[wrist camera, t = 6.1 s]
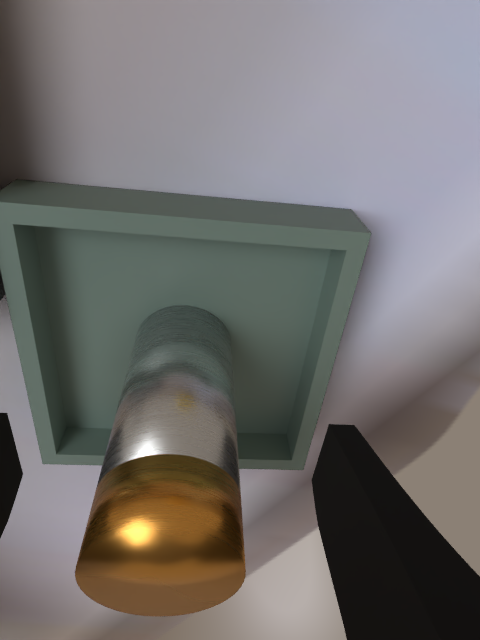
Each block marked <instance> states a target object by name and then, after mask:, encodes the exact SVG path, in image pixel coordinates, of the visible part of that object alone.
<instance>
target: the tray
mask: <svg viewBox="0 0 480 640" xmlns="http://www.w3.org/2000/svg"><path fill="white" fill-rule="evenodd" d="M370 236H371V232H370V231H369V230H368V229H367V228H366V226H365V225H364V224H363V223H362V222H361V220H360V219H359V218H358V217H357V216H356V215H355V213H354V212H353V211H352V210H351V209H341V208H330V207H319V206H308V205H296V204H285V203H274V202H263V201H252V200H241V199H230V198H218V197H207V196H196V195H185V194H174V193H163V192H152V191H140V190H129V189H118V188H107V187H96V186H85V185H73V184H62V183H51V182H40V181H29V180H18V179H16V180H15V181H13V182H12V183H10V184H9V185H7V186H6V187H5V188H3V189H2V190H0V270H1V275H2V279H3V284H4V289H5V293H6V298H7V302H8V307H9V312H10V316H11V321H12V325H13V330H14V334H15V339H16V344H17V348H18V353H19V357H20V362H21V367H22V371H23V376H24V380H25V385H26V390H27V394H28V399H29V403H30V408H31V412H32V417H33V422H34V426H35V431H36V435H37V440H38V445H39V449H40V454H41V458H42V463H43V464H65V465H103V461H104V458H105V454H106V450H107V446H108V442H109V438H110V434H111V431H112V427H113V423H114V419H115V415H116V411H117V408H118V404H119V400H120V396H121V392H122V388H123V384H124V381H125V377H126V373H127V369H128V365H129V361H130V357H131V354H132V350H133V346H134V342H135V338H136V334H137V331H138V329H139V327H140V325H141V324H142V322H143V321H144V320H145V319H146V318H147V317H148V316H149V315H151V314H152V313H154V312H155V311H157V310H159V309H162V308H165V307H168V306H174V305H190V306H195V307H199V308H202V309H205V310H207V311H209V312H211V313H212V314H214V315H215V316H216V317H218V318H219V319H220V320H221V321H222V322H223V324H224V325H225V327H226V328H227V330H228V332H229V335H230V339H231V351H232V367H233V382H234V398H235V414H236V429H237V445H238V460H239V469H281V470H303V469H304V465H305V462H306V458H307V455H308V451H309V448H310V444H311V441H312V437H313V434H314V431H315V427H316V424H317V420H318V417H319V413H320V410H321V406H322V403H323V399H324V396H325V392H326V389H327V385H328V382H329V378H330V375H331V371H332V368H333V364H334V361H335V358H336V354H337V351H338V347H339V344H340V340H341V337H342V333H343V330H344V326H345V323H346V319H347V316H348V312H349V309H350V305H351V302H352V298H353V295H354V291H355V288H356V285H357V281H358V278H359V274H360V271H361V267H362V264H363V260H364V257H365V253H366V250H367V246H368V243H369V239H370Z"/></svg>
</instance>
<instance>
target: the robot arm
mask: <svg viewBox="0 0 480 640" xmlns="http://www.w3.org/2000/svg"><path fill="white" fill-rule="evenodd" d="M22 475H23V472H22V469H21V465H20V461H19V457H18V453H17V449H16V446H15V442H14V438H13V434H12V430H11V426H10V423H9V419H8V415H7V413H0V538H1V535H2V533H3V531H4V529H5V526H6V524H7V522H8V519H9V516H10V513H11V510H12V507H13V504H14V501H15V498H16V495H17V492H18V488H19V485H20V482H21V479H22ZM312 486H313V493H314V501H315V508H316V515H317V521H318V526H319V530H320V534H321V538H322V542H323V546H324V550H325V554H326V558H327V562H328V566H329V570H330V573H331V578H332V582H333V585H334V589H335V593H336V597H337V601H338V605H339V609H340V613H341V616H342V620H343V624H344V628H345V633H346V637H347V640H480V576H479V575H477V573H476V572H475V571H474V570H473V569H472V568H471V567H470V566H469V565H468V564H467V563H466V562H465V561H464V559H463V558H462V557H461V556H460V555H459V554H458V553H457V552H456V551H455V550H454V548H453V547H452V546H451V545H450V544H449V543H448V542H447V541H446V539H444V537H443V536H442V535H441V534H440V533H439V532H438V530H437V529H436V528H435V527H434V526H433V524H432V523H431V522H430V521H429V520H428V519H427V517H426V516H425V515H424V514H423V513H422V511H421V510H420V509H419V508H418V506H417V505H416V504H415V503H414V502H413V500H412V499H411V498H410V497H409V495H408V494H407V493H406V492H405V491H404V489H403V488H402V487H401V486H400V484H399V483H398V482H397V480H396V479H395V478H394V477H393V475H392V474H391V473H390V471H389V470H388V469H387V467H386V466H385V465H384V464H383V462H382V461H381V460H380V458H379V457H378V456H377V454H376V453H375V452H374V450H373V449H372V448H371V446H370V445H369V444H368V442H367V441H366V440H365V438H364V437H363V436H362V434H361V433H360V432H359V431H358V429H357V428H356V427H355V426H354V425H334V424H329V426H328V429H327V433H326V436H325V439H324V442H323V445H322V449H321V452H320V455H319V458H318V462H317V465H316V468H315V471H314V474H313V478H312Z"/></svg>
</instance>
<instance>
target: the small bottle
mask: <svg viewBox="0 0 480 640" xmlns="http://www.w3.org/2000/svg"><path fill="white" fill-rule="evenodd" d="M245 572H246V570H245V554H244V539H243V523H242V507H241V492H240V476H239V460H238V445H237V429H236V414H235V398H234V382H233V367H232V351H231V339H230V335H229V332H228V330H227V328H226V327H225V325H224V324H223V322H222V321H221V320H220V319H219V318H218V317H216V316H215V315H214V314H212V313H211V312H209V311H207V310H205V309H202V308H199V307H195V306H190V305H174V306H168V307H165V308H162V309H159V310H157V311H155V312H154V313H152V314H151V315H149V316H148V317H147V318H146V319H145V320H144V321H143V322H142V324H141V325H140V327H139V329H138V331H137V334H136V338H135V342H134V346H133V350H132V354H131V357H130V361H129V365H128V369H127V373H126V377H125V381H124V384H123V388H122V392H121V396H120V400H119V404H118V408H117V411H116V415H115V419H114V423H113V427H112V431H111V434H110V438H109V442H108V446H107V450H106V454H105V458H104V461H103V465H102V469H101V473H100V477H99V481H98V485H97V488H96V492H95V496H94V500H93V504H92V508H91V512H90V515H89V519H88V523H87V527H86V531H85V535H84V538H83V542H82V546H81V550H80V554H79V558H78V562H77V565H76V571H75V577H76V581H77V584H78V586H79V587H80V589H81V590H82V591H83V592H84V593H85V594H86V595H87V596H88V597H90V598H91V599H92V600H94V601H96V602H97V603H99V604H101V605H103V606H105V607H108V608H111V609H113V610H117V611H120V612H124V613H129V614H135V615H142V616H176V615H184V614H190V613H194V612H198V611H202V610H205V609H208V608H211V607H213V606H215V605H218V604H220V603H222V602H224V601H225V600H227V599H228V598H230V597H231V596H233V595H234V594H235V593H236V592H237V591H238V590H239V588H240V587H241V586H242V584H243V582H244V579H245Z"/></svg>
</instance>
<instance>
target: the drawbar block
mask: <svg viewBox="0 0 480 640" xmlns="http://www.w3.org/2000/svg"><path fill="white" fill-rule="evenodd" d="M5 294H6V293H5V289H4V284H3V279H2V275H1V270H0V300H1V299H2V298H3V296H4V295H5Z"/></svg>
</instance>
